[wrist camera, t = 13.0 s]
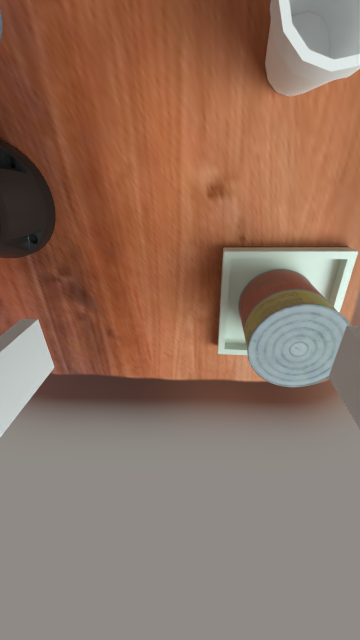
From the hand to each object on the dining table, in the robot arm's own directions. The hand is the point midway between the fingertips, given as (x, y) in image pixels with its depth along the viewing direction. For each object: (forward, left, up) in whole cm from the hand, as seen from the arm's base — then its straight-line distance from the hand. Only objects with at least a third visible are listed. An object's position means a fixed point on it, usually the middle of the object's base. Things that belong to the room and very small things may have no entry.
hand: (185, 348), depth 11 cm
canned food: (+11, -10, -28) cm, 32 cm away
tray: (+11, -10, -28) cm, 32 cm away
